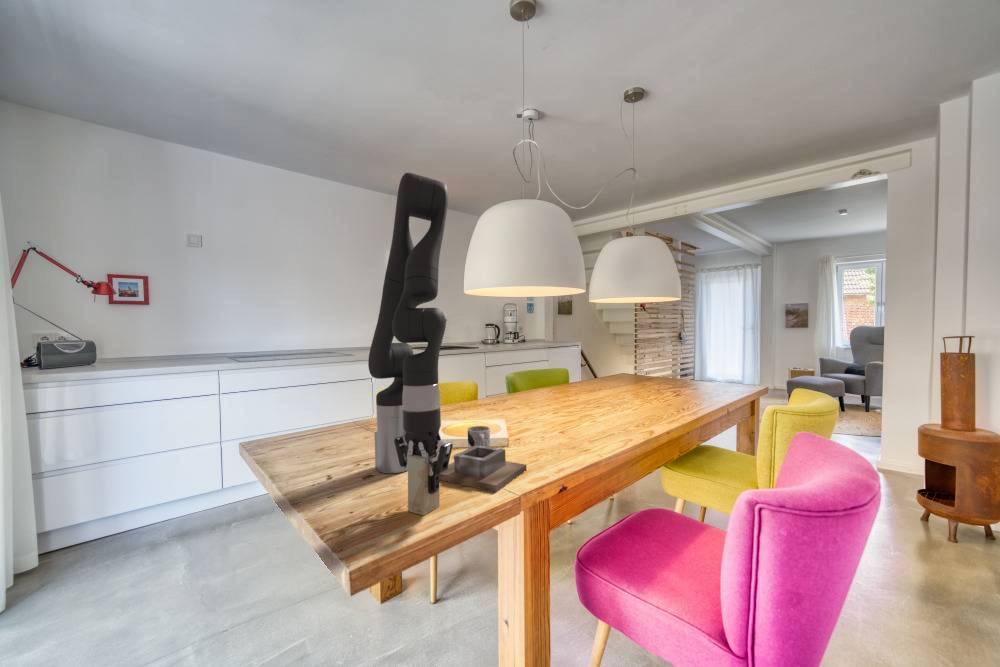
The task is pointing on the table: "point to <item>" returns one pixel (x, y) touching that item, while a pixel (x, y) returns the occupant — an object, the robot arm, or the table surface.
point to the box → (420, 487)
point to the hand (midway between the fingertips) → (423, 489)
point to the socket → (482, 468)
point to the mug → (478, 436)
